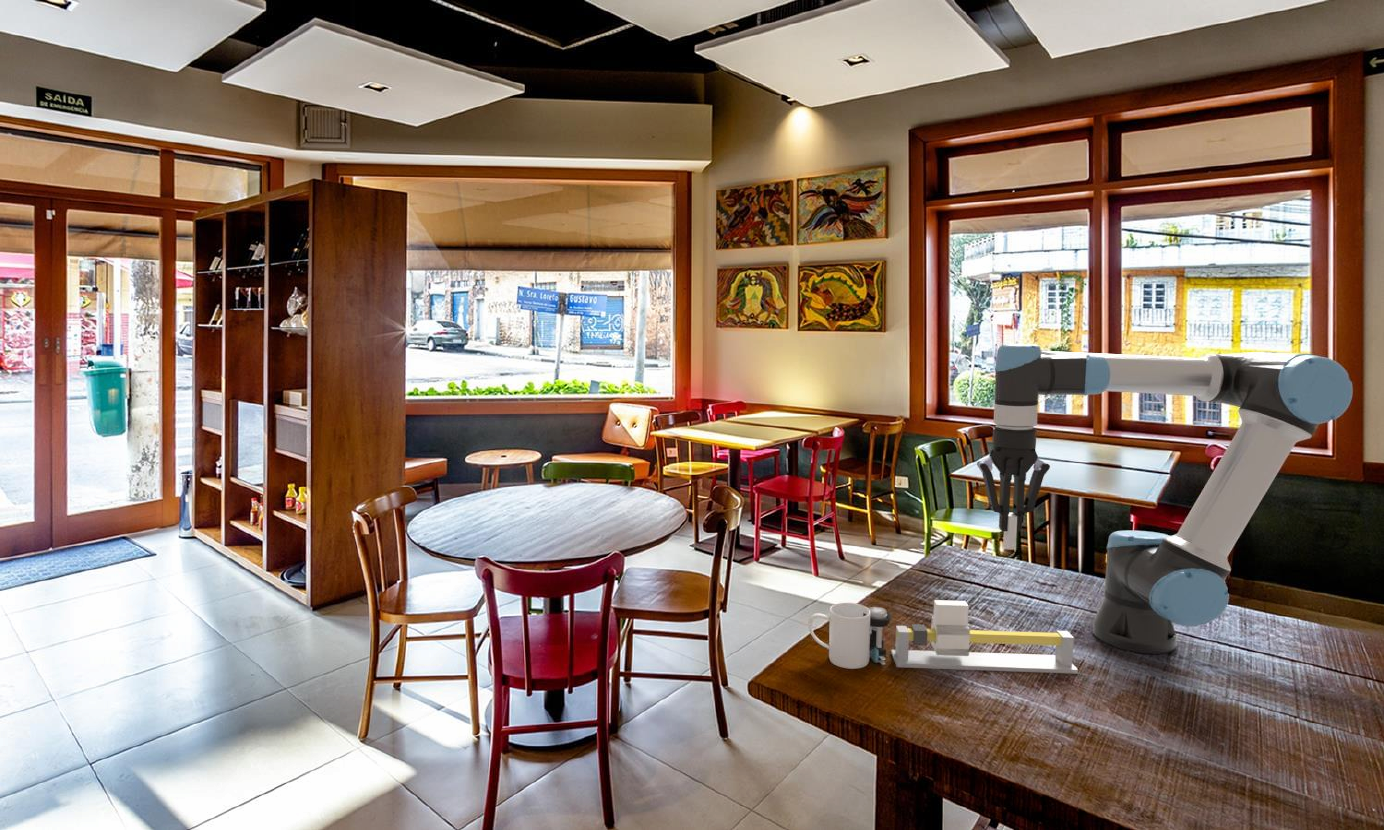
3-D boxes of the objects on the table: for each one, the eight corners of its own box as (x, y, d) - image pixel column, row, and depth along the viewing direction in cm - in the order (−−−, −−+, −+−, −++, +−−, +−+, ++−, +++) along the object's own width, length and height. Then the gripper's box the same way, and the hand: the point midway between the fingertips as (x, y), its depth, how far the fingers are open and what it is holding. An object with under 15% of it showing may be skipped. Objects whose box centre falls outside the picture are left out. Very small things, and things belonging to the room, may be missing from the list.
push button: (896, 666, 146) (898, 617, 144) (870, 667, 145) (872, 619, 143) (882, 650, 152) (884, 604, 151) (857, 652, 151) (859, 605, 150)
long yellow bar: (1061, 643, 146) (1062, 628, 145) (1067, 650, 143) (1068, 635, 142) (895, 637, 149) (896, 623, 148) (898, 644, 146) (898, 629, 146)
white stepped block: (961, 643, 149) (963, 597, 148) (968, 656, 144) (970, 608, 142) (930, 642, 150) (932, 596, 148) (937, 654, 144) (938, 607, 143)
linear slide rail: (1065, 659, 148) (1067, 627, 147) (1077, 673, 142) (1079, 640, 141) (891, 653, 151) (892, 622, 150) (896, 667, 145) (897, 635, 144)
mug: (863, 650, 152) (864, 601, 151) (873, 668, 144) (875, 617, 143) (804, 652, 152) (805, 603, 150) (812, 670, 144) (812, 619, 143)
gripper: (1043, 423, 143) (1037, 541, 146) (973, 423, 144) (969, 540, 147) (1058, 429, 135) (1052, 553, 138) (984, 429, 136) (980, 552, 140)
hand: (1009, 547), depth 143 cm, fingers closed
